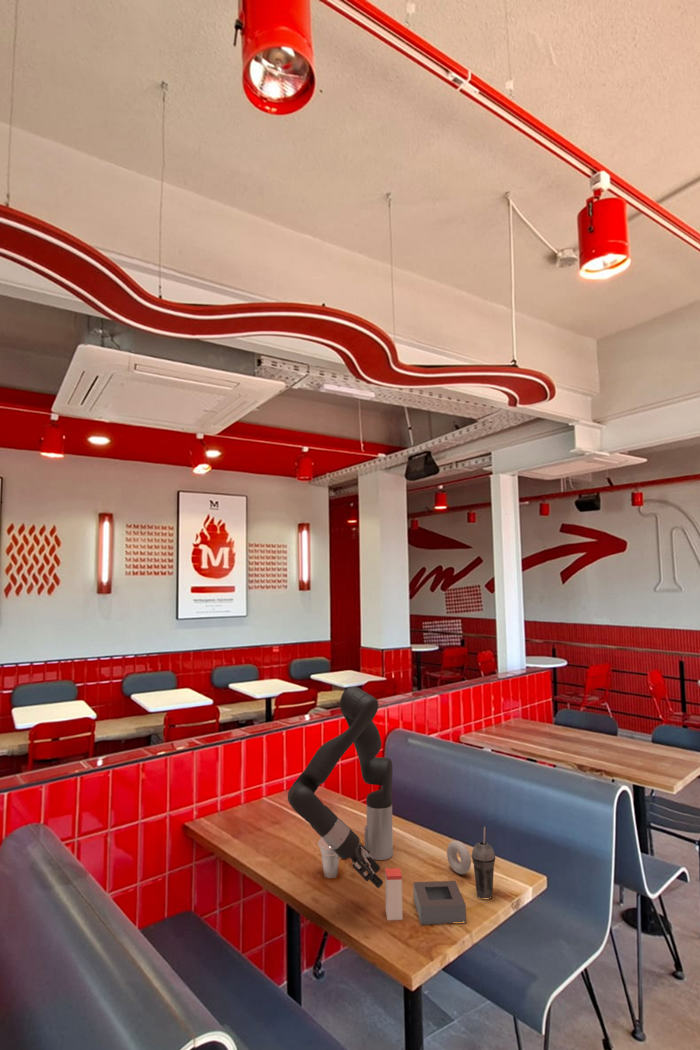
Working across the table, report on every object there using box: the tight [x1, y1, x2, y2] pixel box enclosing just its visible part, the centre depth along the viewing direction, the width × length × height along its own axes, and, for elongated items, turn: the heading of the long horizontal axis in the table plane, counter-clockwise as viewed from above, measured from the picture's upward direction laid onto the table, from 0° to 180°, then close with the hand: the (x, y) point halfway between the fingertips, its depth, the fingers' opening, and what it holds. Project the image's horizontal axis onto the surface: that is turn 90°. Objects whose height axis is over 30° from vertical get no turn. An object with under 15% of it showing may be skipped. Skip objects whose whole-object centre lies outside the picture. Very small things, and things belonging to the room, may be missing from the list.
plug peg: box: [384, 867, 403, 921], centre depth 167 cm, size 4×4×12 cm
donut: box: [446, 840, 472, 875], centre depth 191 cm, size 10×4×10 cm, turn 34°
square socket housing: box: [412, 880, 467, 926], centre depth 169 cm, size 13×13×5 cm
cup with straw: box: [317, 836, 340, 879], centre depth 191 cm, size 8×9×20 cm
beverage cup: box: [471, 826, 496, 899], centre depth 177 cm, size 7×7×20 cm
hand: (379, 877), depth 167 cm, fingers open, 8 cm apart
